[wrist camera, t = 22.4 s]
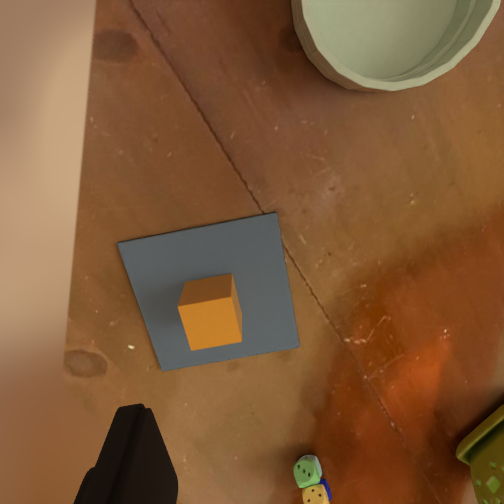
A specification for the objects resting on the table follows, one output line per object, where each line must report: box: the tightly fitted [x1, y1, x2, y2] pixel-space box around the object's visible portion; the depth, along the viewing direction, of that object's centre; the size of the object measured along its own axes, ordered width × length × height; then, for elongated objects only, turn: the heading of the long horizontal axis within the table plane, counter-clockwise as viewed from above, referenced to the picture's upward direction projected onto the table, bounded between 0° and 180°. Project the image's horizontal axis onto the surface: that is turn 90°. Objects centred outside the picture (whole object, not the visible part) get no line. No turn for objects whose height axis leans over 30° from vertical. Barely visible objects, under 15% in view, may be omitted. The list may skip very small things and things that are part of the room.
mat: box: [117, 212, 300, 372], centre depth 39 cm, size 16×16×1 cm
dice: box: [293, 455, 332, 504], centre depth 46 cm, size 8×3×6 cm, turn 23°
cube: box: [178, 273, 242, 351], centre depth 36 cm, size 5×5×5 cm
